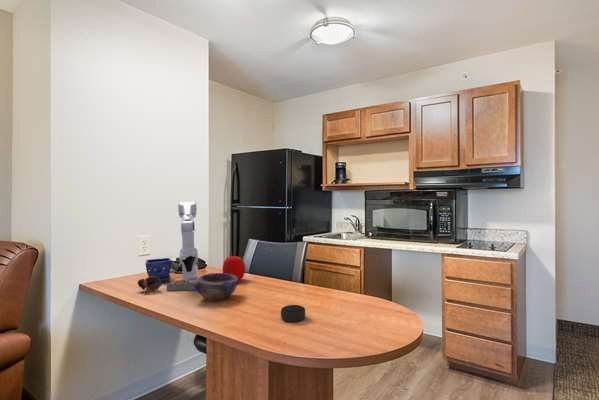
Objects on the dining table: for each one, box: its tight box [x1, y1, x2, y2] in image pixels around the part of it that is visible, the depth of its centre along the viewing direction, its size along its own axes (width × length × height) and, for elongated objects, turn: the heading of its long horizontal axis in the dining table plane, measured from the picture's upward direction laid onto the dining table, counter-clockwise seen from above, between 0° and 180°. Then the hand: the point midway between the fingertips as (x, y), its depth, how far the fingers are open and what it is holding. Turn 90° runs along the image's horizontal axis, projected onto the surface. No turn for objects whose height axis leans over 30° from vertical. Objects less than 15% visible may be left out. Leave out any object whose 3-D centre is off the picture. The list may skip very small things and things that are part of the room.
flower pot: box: [145, 257, 172, 284], centre depth 191 cm, size 13×13×12 cm
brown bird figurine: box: [137, 276, 163, 294], centre depth 169 cm, size 12×10×8 cm
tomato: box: [222, 254, 246, 281], centre depth 186 cm, size 13×11×14 cm
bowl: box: [194, 272, 241, 302], centre depth 153 cm, size 18×18×10 cm
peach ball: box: [174, 277, 184, 284], centre depth 173 cm, size 4×4×4 cm
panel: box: [166, 280, 196, 292], centre depth 172 cm, size 8×24×3 cm, turn 87°
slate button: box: [189, 275, 199, 284], centre depth 172 cm, size 4×4×4 cm
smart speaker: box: [280, 304, 306, 323], centre depth 124 cm, size 9×9×4 cm
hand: (189, 271), depth 172 cm, fingers closed
